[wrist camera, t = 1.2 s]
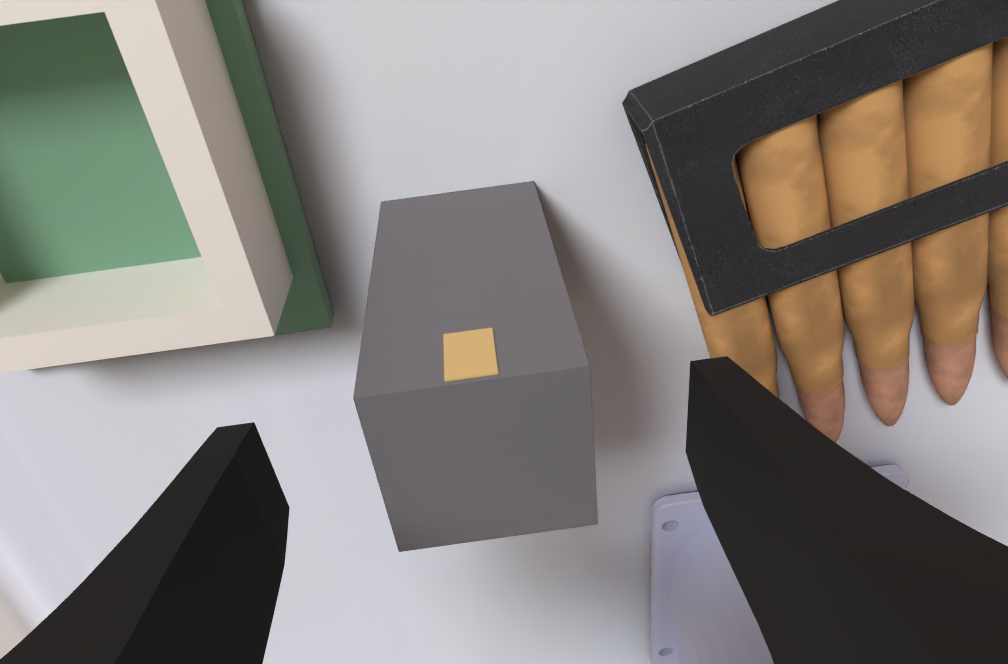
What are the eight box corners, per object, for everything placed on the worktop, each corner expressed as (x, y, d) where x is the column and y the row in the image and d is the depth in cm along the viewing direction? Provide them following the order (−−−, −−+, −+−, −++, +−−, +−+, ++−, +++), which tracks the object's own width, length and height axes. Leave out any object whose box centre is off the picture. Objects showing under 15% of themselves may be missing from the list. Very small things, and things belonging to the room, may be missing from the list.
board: (333, 313, 18) (318, 389, 15) (12, 357, 18) (-56, 441, 15) (190, -178, 12) (128, -185, 10) (-284, -117, 12) (-470, -106, 10)
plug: (545, 310, 18) (597, 524, 12) (409, 328, 18) (399, 553, 12) (533, 179, 16) (589, 364, 10) (381, 200, 16) (353, 396, 10)
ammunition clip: (619, 95, 15) (729, 452, 22) (641, 125, 14) (752, 499, 21) (1153, -136, 14) (1092, 327, 20) (1244, -129, 12) (1145, 368, 19)
